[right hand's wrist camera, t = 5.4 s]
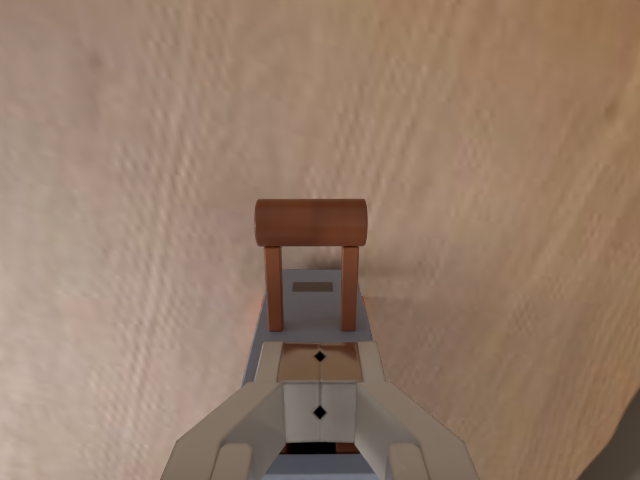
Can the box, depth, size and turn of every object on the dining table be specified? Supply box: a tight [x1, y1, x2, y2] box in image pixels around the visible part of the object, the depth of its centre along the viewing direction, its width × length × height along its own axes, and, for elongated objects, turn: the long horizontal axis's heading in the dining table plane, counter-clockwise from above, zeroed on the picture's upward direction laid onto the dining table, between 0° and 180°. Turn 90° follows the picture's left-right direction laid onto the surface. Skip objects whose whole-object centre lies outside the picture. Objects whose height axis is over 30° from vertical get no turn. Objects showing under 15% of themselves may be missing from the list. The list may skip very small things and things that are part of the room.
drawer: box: [241, 199, 371, 455], centre depth 19 cm, size 24×5×10 cm, turn 0°
